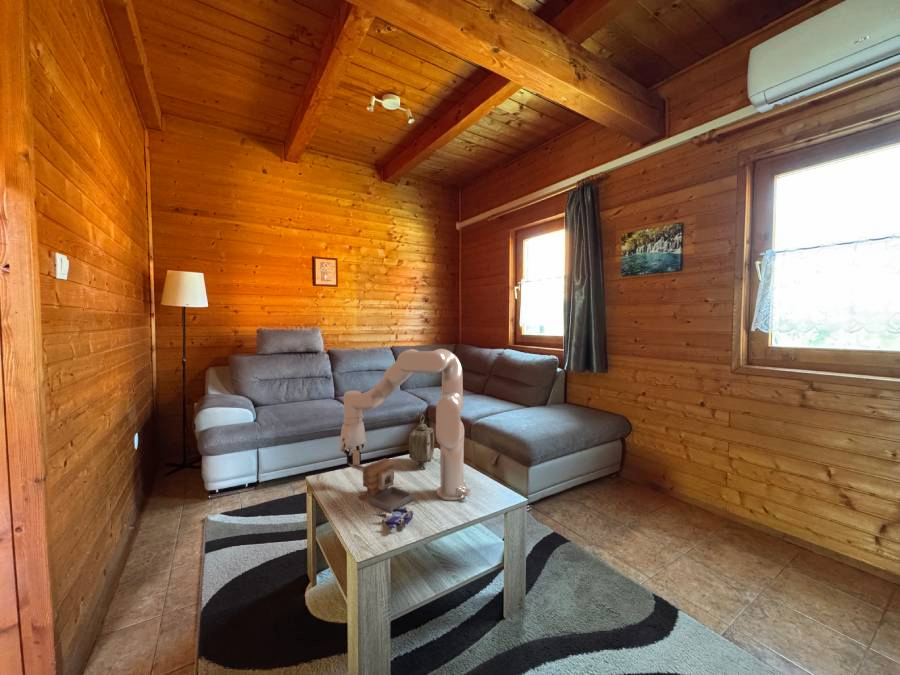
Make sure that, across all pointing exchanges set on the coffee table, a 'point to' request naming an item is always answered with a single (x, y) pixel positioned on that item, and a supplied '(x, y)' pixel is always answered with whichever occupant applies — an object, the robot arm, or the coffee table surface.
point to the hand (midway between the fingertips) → (354, 461)
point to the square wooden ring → (382, 479)
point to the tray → (391, 499)
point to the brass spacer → (379, 478)
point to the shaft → (358, 461)
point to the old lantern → (421, 443)
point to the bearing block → (374, 478)
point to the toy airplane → (397, 517)
